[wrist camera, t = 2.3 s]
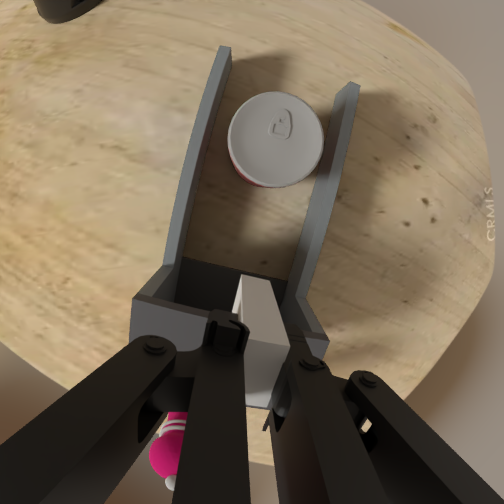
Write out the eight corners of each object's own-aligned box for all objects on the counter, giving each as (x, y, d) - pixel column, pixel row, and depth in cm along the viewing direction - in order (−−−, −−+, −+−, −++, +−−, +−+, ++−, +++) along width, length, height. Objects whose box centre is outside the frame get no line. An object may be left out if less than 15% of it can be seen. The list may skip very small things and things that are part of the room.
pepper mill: (232, 373, 38) (230, 494, 18) (197, 397, 39) (180, 509, 19) (194, 341, 36) (164, 462, 17) (161, 368, 37) (121, 479, 18)
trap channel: (222, 63, 29) (213, -3, 15) (345, 97, 30) (401, 54, 16) (163, 313, 35) (127, 379, 21) (278, 338, 37) (297, 412, 23)
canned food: (295, 119, 31) (321, 91, 20) (299, 186, 33) (327, 187, 22) (229, 121, 31) (225, 91, 20) (232, 189, 32) (229, 190, 22)
